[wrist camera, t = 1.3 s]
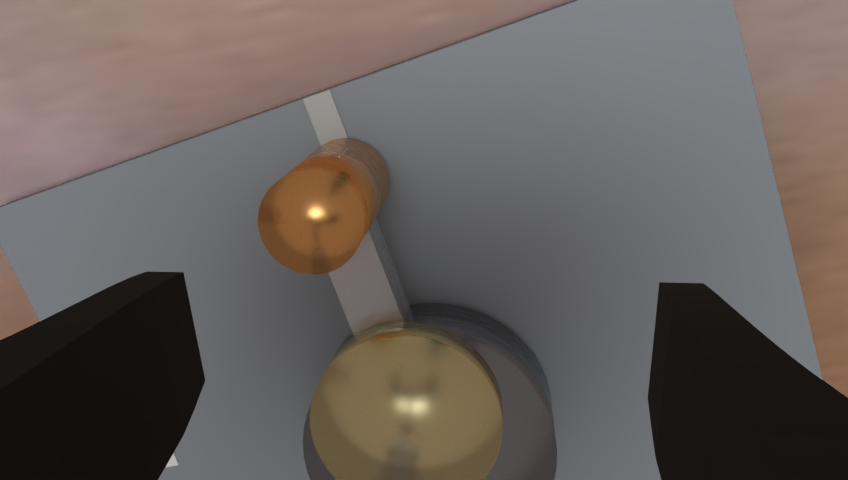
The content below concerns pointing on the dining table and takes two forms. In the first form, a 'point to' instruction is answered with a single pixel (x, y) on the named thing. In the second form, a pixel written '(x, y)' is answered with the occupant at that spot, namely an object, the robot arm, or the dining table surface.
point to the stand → (460, 224)
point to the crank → (401, 347)
